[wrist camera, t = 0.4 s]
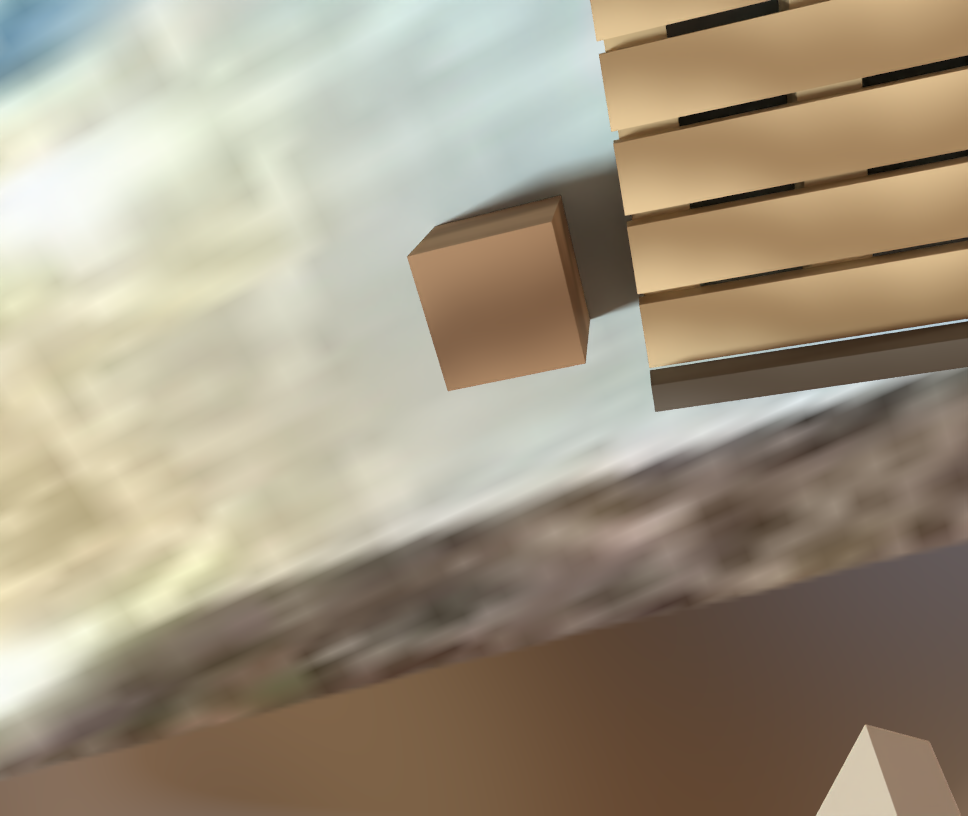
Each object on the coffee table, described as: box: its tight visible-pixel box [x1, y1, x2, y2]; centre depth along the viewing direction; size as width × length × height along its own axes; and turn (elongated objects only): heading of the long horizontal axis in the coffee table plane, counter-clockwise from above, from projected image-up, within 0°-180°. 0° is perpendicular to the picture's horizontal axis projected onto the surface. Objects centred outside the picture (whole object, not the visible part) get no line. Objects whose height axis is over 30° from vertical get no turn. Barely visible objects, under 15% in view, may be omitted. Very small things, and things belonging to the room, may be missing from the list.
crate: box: [407, 195, 590, 391], centre depth 32 cm, size 5×5×5 cm
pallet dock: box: [590, 0, 968, 412], centre depth 29 cm, size 15×14×4 cm
